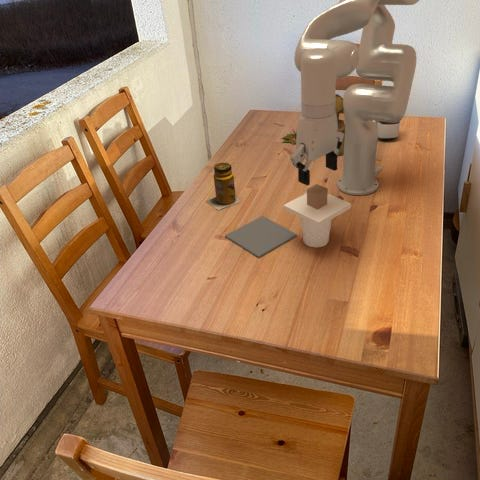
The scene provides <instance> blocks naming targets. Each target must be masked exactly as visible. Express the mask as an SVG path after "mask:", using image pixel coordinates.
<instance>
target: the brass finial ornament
mask: <svg viewBox="0 0 480 480" xmlns="http://www.w3.org/2000/svg"><path fill="white" fill-rule="evenodd" d="M335 111H336V115H337V123H338V132H342V133H344V137H343V140H342V141H341V142H342V145H341V147H340V149H339V154H338V155H337V157H340V156H344V139H345V120H344V119H339V118H340V113H342V112H344V109H343V96H341V95H339V94H338V93H336V102H335Z"/></svg>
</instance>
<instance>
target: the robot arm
mask: <svg viewBox="0 0 480 480" xmlns="http://www.w3.org/2000/svg"><path fill="white" fill-rule="evenodd" d="M419 1H420V0H339V1H338V2H337V3H335V4H333V5H332V6H330V7H329V8H327V9H326V10H324V11H323V12H321V13H320V14H319V15H317V16H316V17H314V18H313V19H312V20H311V21H310V22H308V24H307V25H306V27H304V28H305V29H304V31H303V32H302V35H301V37H300V38H299V40H298V42H297V46H296V48H295V50H294V65H295V68H296V69H297V71H299V72H300V82H301V83H300V89H301V90H300V93H301V94H300V95H301V97H300V98H301V101H300V103H301V109H300V110H301V115H300V116H299V117H298V123H297V127H296V133H297V136H296V139H295V140H296V143H295V145H296V146H295V150H294V151H293V152H292V154H291V155H290V157H289V158H290V161H291V162H292V165H293V167H295V168H296V169H297V170H298V171H297V172H298V173H297V177H298V178H297V179H298V183H300V184H302V185H305V186H309V185H310V182H311V181H310V180H311V170H309V167H310V165H311V164H312V161H316V160H318V159H320V158H322V157H324V156H325V168H327V169H329V170H332V171H338V156H337V155H338V154H339V149H340V147H341V145H342V142H341V141H342V140H343V137H344V133H342V132H338V123H337V115H336V114H337V113H336V111H335V102H336V94H337V91H336V90H337V81H338V80H340V79H342V78H346V77H348V76H349V75H351V74H352V73H353V72H354V71H355V72H356V75H357V77H360V78H361V79H365V80H373V81H381V82H384V81H385V82H392V84H393V85H381V84H373V83H355V84H351V85H350V86H348V87H347V88H346V89H345V91H344V94H343V96H342V98H343V109H344V110H343V114H344V124H345V139H344V155H343V159H342V162H343V164H342V176H340V178H339V179H338V180H337V183H336V186H337V188H338V189H339V191H341V192H343V193H345V194H349V195H353V196H366V195H369V194H372V193H374V192H376V191H378V189H379V184H380V183H379V181H378V179H377V178H376V176H377V174H380V173H381V172H382V171H383V168H382V166H380V165H378V166H376V159H377V147H378V141H379V140H378V131H377V128H376V122H375V123H374V122H373V120H374V121H382V122H392V123H395V122H399V121H402V120H403V119H404V116H405V115H406V112H407V108H408V104H409V100H410V95H411V90H412V86H413V81H414V77H415V72H416V66H417V51H416V50H415V48H414V47H413V46H411V45H408V44H402V43H401V44H399V43H393V40H394V34H395V31H396V23H395V19H394V18H393V16H392V14H391V13H390V11H389V9H388V8H387V6H413V5H416V4H417V3H419ZM359 30H362V31H361V38H360V43H359V46H357V44H356V43H354V42H353V41H350V40H342V39H341V40H340V39H334V38H339V37H341V36H344V35H345V36H346V35H348V34H351V33H354V32H357V31H359ZM304 161H305V163H304ZM303 163H304V164H303Z"/></svg>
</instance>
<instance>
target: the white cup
mask: <svg viewBox="0 0 480 480" xmlns="http://www.w3.org/2000/svg"><path fill="white" fill-rule="evenodd" d="M300 220H301V230H302V236H303V237H302V240H303V243H304V244H305V245H306V246H308V247H310V248H322V247H324V246H327V245H328V243H329V242H330V241H329V240H330V232H331V227H332V226H331V225H332V219H331V220H329V221H327V222H326V223H324V224H322V225H321V226H319V227H318V226H316V225H314V224H312V223H310V222H308V221H306V220H304V219H302V218H301V219H300Z"/></svg>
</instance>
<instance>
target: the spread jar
mask: <svg viewBox="0 0 480 480" xmlns="http://www.w3.org/2000/svg"><path fill="white" fill-rule="evenodd" d="M373 122H374V123H375V125H376V128H377V131H378V140H377V141H382V142H391V141H394V140H396V139H397V138H398V137H399V133H400V132H399V131H400V126H401V125H400V124H401V123H400V121H399V122H395V123H392V122H382V121H374V120H373Z"/></svg>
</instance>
